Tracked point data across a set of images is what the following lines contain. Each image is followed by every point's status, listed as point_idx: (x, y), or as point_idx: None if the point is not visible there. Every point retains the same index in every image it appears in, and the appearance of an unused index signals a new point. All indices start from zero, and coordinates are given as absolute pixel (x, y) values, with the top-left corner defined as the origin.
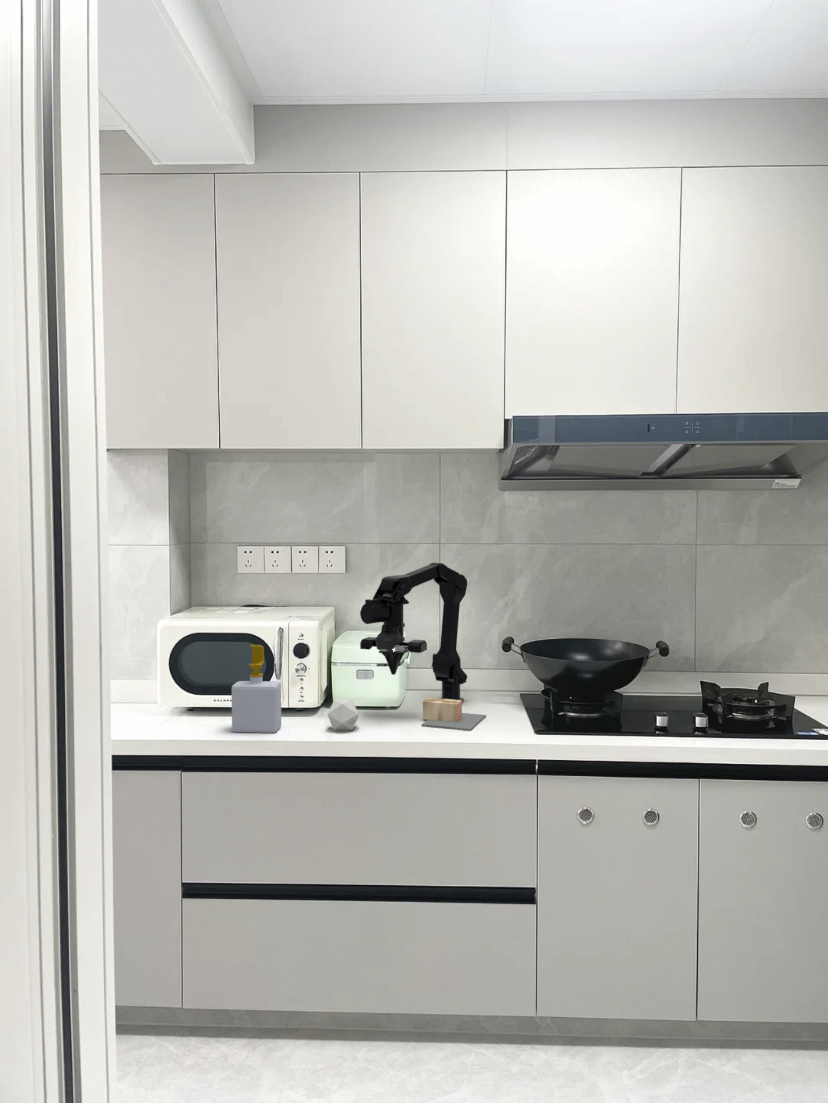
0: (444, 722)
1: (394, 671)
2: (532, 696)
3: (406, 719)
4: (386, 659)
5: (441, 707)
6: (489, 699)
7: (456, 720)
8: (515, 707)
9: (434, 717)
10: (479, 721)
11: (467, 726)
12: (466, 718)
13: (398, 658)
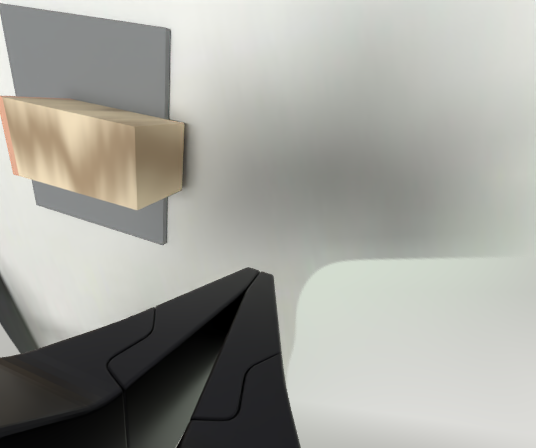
0: (101, 82)
1: (231, 275)
2: None
3: (251, 134)
4: (283, 414)
5: (72, 108)
6: None
7: (65, 98)
8: (25, 295)
9: (135, 114)
10: None
11: (20, 41)
12: None
13: (41, 357)
